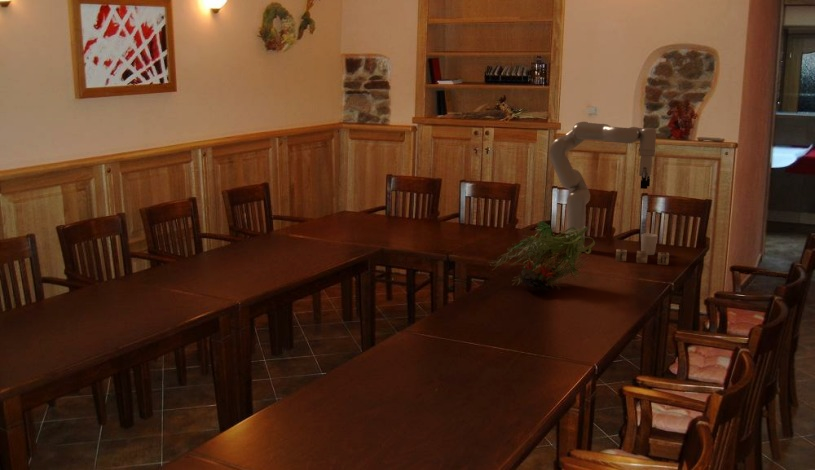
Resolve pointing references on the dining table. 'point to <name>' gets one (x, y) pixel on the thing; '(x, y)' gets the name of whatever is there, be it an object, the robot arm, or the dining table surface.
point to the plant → (549, 256)
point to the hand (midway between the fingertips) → (645, 187)
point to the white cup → (648, 243)
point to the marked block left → (621, 255)
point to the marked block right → (663, 258)
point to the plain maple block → (642, 256)
